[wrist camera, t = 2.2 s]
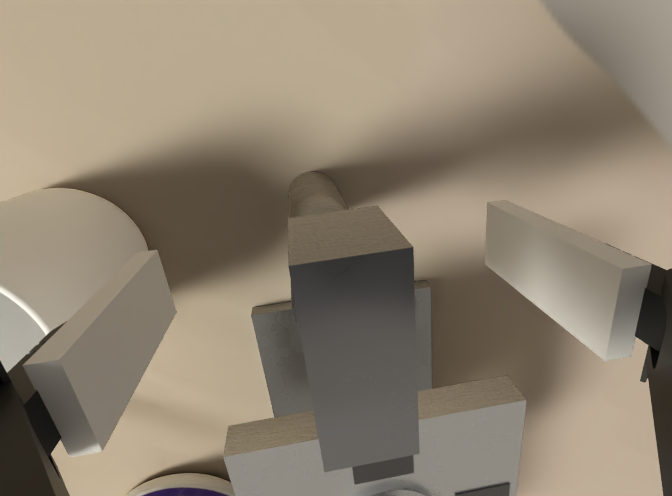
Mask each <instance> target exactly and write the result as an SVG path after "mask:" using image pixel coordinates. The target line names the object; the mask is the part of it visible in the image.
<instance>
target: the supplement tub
mask: <svg viewBox="0 0 672 496" xmlns="http://www.w3.org/2000/svg"><path fill="white" fill-rule="evenodd" d="M125 496H235V493H234V490H233V487H232V484H231V482H229V481H226V480H224V479H221V478H218V477H215V476H211V475H206V474H199V473H180V474H172V475H167V476H163V477H159V478H156V479H153V480H150V481H148V482H146V483H144V484H142V485H140V486H138V487H136V488H134V489H133V490H131V491H130V492H129V493H128V494H126V495H125Z"/></svg>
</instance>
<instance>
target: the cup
mask: <svg viewBox="0 0 672 496" xmlns="http://www.w3.org/2000/svg"><path fill="white" fill-rule="evenodd" d="M145 251H148V247H147V244H146V241H145V239H144V237H143V235H142V233H141V231H140V230H139V228H138V227H137V225H136V224H135V223H134V222H133V220H132V219H131V218H130V217H129V216H128V215H127V214H126V213H125V212H123V211H122V210H121V209H120V208H118V207H117V206H116V205H114V204H113V203H111V202H109V201H107V200H106V199H103V198H101V197H99V196H97V195H94V194H91V193H88V192H85V191H81V190H76V189H69V188H49V189H42V190H37V191H33V192H29V193H26V194H23V195H20V196H17V197H14V198H12V199H9V200H6V201H3V202H1V203H0V361H1V363H2V365H3V367H4V368H5V370H6V372H8V371H10V370H11V369H12V368H13V367H14V366H15V365H16V364H17V363H18V362H19V361H20V360H21V359H22V358H23V357H24V356H25V355H26V354H29V351H30V350H31V349H32V348H34V347H35V346H36V345H38V344H39V342H40V341H41V340H42V339H43V338H44V337H45V336H46V335H47V334H48V333H49V332H50V331H52V330H53V329H55V328H56V327H58V326H60V325H61V324H63V323H65V322H66V321H68V320H69V319H70V318H71V317H72V316H73V315H74V314H75V313H76V312H77V311H78V310H79V309H80V308H81V307H82V306H83V305H84V304H85V303H86V302H87V301H88V300H89V299H90V298H91V297H92V296H93V295H94V294H95V293H96V292H97V291H98V290H99V289H100V288H101V287H102V286H103V285H104V284H106V283H107V282H108V281H109V280H110V279H111V278H112V277H113V276H114V275H115V274H116V273H117V272H118V271H119V270H120V269H121V268H122V267H123V266H124V265H125V264H126V263H127V262H128V261H129V260H130V259H131V258H132V257H133V256H134V255H135V254H136V253H138V252H145Z"/></svg>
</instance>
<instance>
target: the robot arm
mask: <svg viewBox="0 0 672 496" xmlns="http://www.w3.org/2000/svg"><path fill="white" fill-rule="evenodd" d="M485 265H487V266H488V267H489V268H490V269H491V270H493V271H494V272H495V273H496V274H498V275H499V276H500V277H501V278H503V279H504V280H505V281H506V282H508V283H509V284H510V285H511V286H512V287H514V288H515V289H516V290H517V291H519V292H520V293H521V294H522V295H524V296H525V297H526V298H527V299H529V300H530V301H531V302H532V303H534V304H535V305H536V306H537V307H538V308H540V309H541V310H542V311H543V312H545V313H546V314H547V315H548V316H550V317H551V318H552V319H553V320H555V321H556V322H557V323H558V324H559V325H561V326H562V327H563V328H564V329H566V330H567V331H568V332H569V333H571V334H572V335H573V336H574V337H576V338H577V339H578V340H579V341H580V342H582V343H583V344H584V345H585V346H587V347H588V348H589V349H590V350H592V351H593V352H594V353H595V354H597V355H598V356H599V357H600V358H602V359H603V360H604V361H610V360H615V359H621V358H627V357H632V352H633V348H634V343H635V338H636V337H637V338H639V339H640V340H642V341H643V342H645V343H646V344H648V345H649V346H648V350H647V354H646V359H645V363H644V367H643V371H642V375H641V380H640V381H642V382H646V380H647V378H648V380H649V388H650V395H651V403H652V411H653V418H654V426H655V434H656V441H657V449H658V457H659V464H660V472H661V480H662V487H663V495H664V496H672V269H669V270H665V269H663V268H661V267H658V266H656V265H654V264H651V263H649V262H647V261H645V260H642V259H640V258H638V257H635V256H632V255H631V254H629V253H626V252H624V251H621V250H619V249H617V248H615V247H612V246H610V245H608V244H605V243H602V242H600V241H598V240H595V239H593V238H591V237H589V236H586V235H584V234H582V233H579V232H577V231H575V230H573V229H570V228H568V227H566V226H564V225H561V224H559V223H557V222H554V221H552V220H550V219H548V218H545V217H543V216H541V215H538V214H536V213H534V212H532V211H529V210H527V209H525V208H522V207H520V206H518V205H516V204H513V203H511V202H509V201H507V200H501V201H494V202H487V222H486V247H485ZM175 314H176V308H175V305H174V302H173V299H172V295H171V292H170V289H169V286H168V282H167V279H166V276H165V273H164V269H163V266H162V263H161V260H160V256H159V253H158V250H152V251H145V252H138V253H136V254H135V255H134V256H133V257H132V258H131V259H130V260H129V261H128V262H127V263H126V264H125V265H124V266H123V267H122V268H121V269H120V270H119V271H118V272H117V273H116V274H115V275H114V276H113V277H112V278H111V279H110V280H109V281H108V282H107V283H106V284H104V285H103V286H102V287H101V288H100V289H99V290H98V291H97V292H96V293H95V294H94V295H93V296H92V297H91V298H90V299H89V300H88V301H87V302H86V303H85V304H84V305H83V306H82V307H81V308H80V309H79V310H78V311H77V312H76V313H75V314H74V315H73V316H72V317H71V318H70V319H69V320H68V321H66V322H65V323H63V324H61V325H60V326H58V327H56V328H55V329H53V330H52V331H50V332H49V333H48V334H47V335H46V336H45V337H44V338H43V339H42V340H41V341H40V342H39V344H38V345H36V346H35V347H34V348H32V349H31V350H30V351H29V354H26V355H25V356H24V357H23V358H22V359H21V360H20V361H19V362H18V363H17V364H16V365H15V366H14V367H13V368H12V369H11V370H10V371H8V372H6V370H5V368H4V367H3V365H2V363H1V361H0V496H69V493H68V491H67V489H66V486H65V484H64V482H63V479H62V477H61V474H60V472H59V470H58V467H57V465H56V463H55V461H54V459H53V458H52V456H51V452H52V451H53V449H54V448H55V447H56V445H57V444H58V442H59V441H60V439H61V441H62V443H63V445H64V447H65V449H66V451H67V453H68V455H69V457H74V456H80V455H86V454H91V453H97V452H102V451H103V449H104V447H105V446H106V444H107V442H108V440H109V438H110V436H111V434H112V432H113V431H114V429H115V427H116V425H117V423H118V421H119V419H120V417H121V416H122V414H123V412H124V410H125V408H126V406H127V404H128V402H129V401H130V399H131V397H132V395H133V393H134V391H135V389H136V387H137V385H138V384H139V382H140V380H141V378H142V376H143V374H144V372H145V370H146V369H147V367H148V365H149V363H150V361H151V359H152V357H153V355H154V354H155V352H156V350H157V348H158V346H159V344H160V342H161V340H162V339H163V337H164V335H165V333H166V331H167V329H168V327H169V325H170V323H171V322H172V320H173V318H174V316H175Z"/></svg>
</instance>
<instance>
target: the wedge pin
mask: <svg viewBox="0 0 672 496" xmlns="http://www.w3.org/2000/svg"><path fill="white" fill-rule="evenodd" d="M288 215H289V218H288V219H287V220H288V258H289V271H290V276H291V299H292V313H293V317H294V319H295V322H296V324H297V325H298V327H299V328H300V334H301V340H302V346H303V352H304V357H305V363H306V369H307V375H308V381H309V386H310V392H311V398H312V404H313V410H314V415H315V421H316V427H317V433H318V438H319V444H320V450H321V456H322V462H323V467H324V472H329V471H334V470H339V469H345V468H350V467H355V466H360V465H365V464H370V463H375V462H380V461H385V460H391V459H396V458H401V457H406V456H411V455H416V454H420V448H419V417H418V385H417V353H416V321H415V290H414V258H413V246H412V245H411V244H410V243H409V242H408V241H407V239H406V238H405V237H404V236H403V235H402V234H401V232H400V231H399V230H398V229H397V228H396V227H395V225H394V224H393V223H392V222H391V221H390V220H389V219H388V217H387V216H386V215H385V214H384V213H383V212H382V210H381V209H380V208H379V207H378V206H372V207H365V208H358V209H351V210H349V209H348V207H347V206H346V204H345V202H344V200H343V199H342V197H341V195H340V193H339V192H338V190H337V188H336V187H335V185H334V183H333V182H332V180H331V179H330V178H329V177H327V176H326V175H324V174H322V173H319V172H306V173H303V174H301V175H299V176H298V177H296V178H295V179H294V180H293V182H292V183H291V185H290V187H289V190H288Z"/></svg>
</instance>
